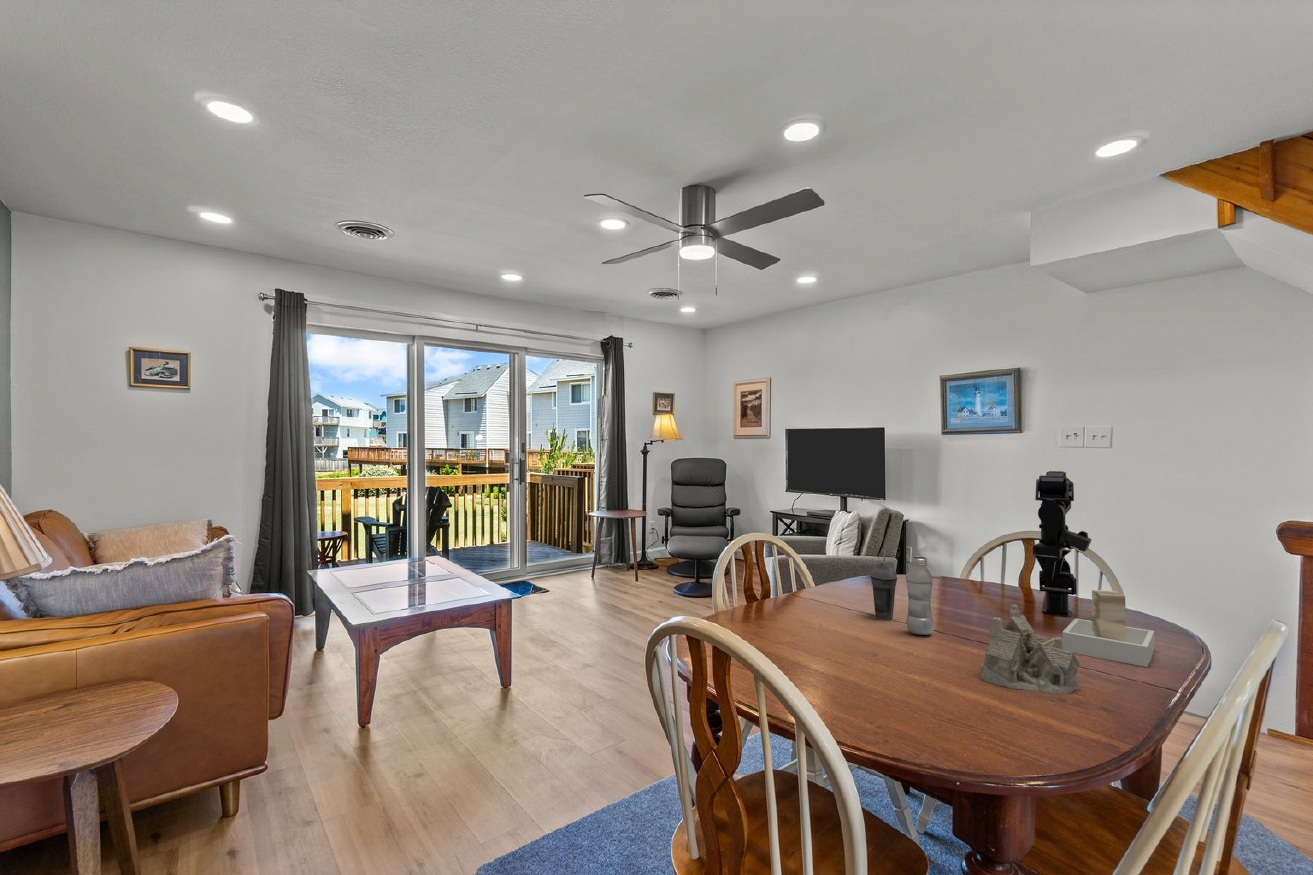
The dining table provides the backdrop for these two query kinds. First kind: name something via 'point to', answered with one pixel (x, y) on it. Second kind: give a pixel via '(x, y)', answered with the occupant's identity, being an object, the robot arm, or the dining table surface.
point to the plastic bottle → (919, 597)
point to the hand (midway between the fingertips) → (1053, 577)
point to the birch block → (1108, 615)
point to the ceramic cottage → (1027, 658)
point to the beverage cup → (883, 590)
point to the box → (1109, 644)
